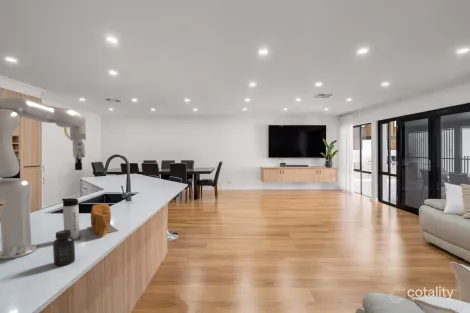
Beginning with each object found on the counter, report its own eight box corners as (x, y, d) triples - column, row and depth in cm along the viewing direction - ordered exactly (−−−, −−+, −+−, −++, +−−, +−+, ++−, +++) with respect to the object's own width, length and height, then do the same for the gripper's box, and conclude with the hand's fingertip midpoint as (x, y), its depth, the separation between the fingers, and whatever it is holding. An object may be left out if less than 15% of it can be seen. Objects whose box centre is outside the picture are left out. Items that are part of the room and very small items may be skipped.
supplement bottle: (79, 258, 101) (77, 228, 101) (68, 266, 94) (67, 234, 94) (61, 259, 101) (60, 229, 101) (49, 267, 94) (47, 234, 94)
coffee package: (88, 225, 142) (89, 241, 123) (91, 203, 141) (93, 216, 122) (108, 224, 147) (112, 239, 128) (111, 203, 146) (115, 215, 128)
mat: (118, 231, 135) (118, 230, 135) (94, 235, 128) (94, 235, 128) (108, 223, 150) (108, 223, 150) (87, 227, 143) (87, 227, 143)
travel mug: (65, 238, 126) (63, 197, 125) (80, 236, 128) (79, 196, 127) (61, 242, 120) (60, 200, 119) (78, 240, 122) (76, 198, 122)
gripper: (88, 136, 141) (88, 170, 141) (83, 138, 153) (83, 169, 153) (72, 136, 137) (72, 170, 136) (68, 138, 148) (69, 170, 148)
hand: (78, 170), depth 145 cm, fingers closed
